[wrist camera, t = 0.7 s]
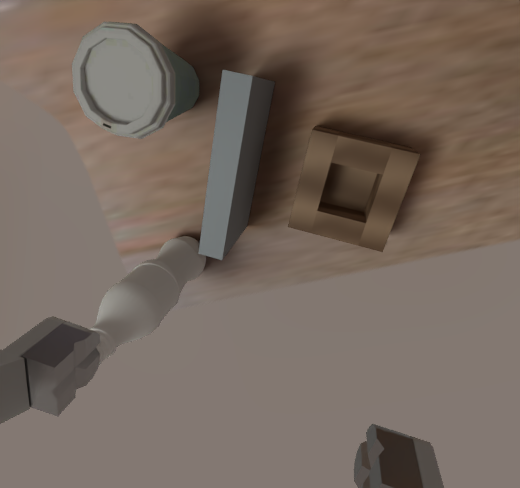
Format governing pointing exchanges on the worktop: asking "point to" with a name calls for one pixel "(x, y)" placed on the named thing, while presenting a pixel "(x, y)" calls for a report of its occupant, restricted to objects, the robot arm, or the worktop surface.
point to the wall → (234, 160)
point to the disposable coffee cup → (131, 80)
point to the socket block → (351, 187)
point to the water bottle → (146, 294)
